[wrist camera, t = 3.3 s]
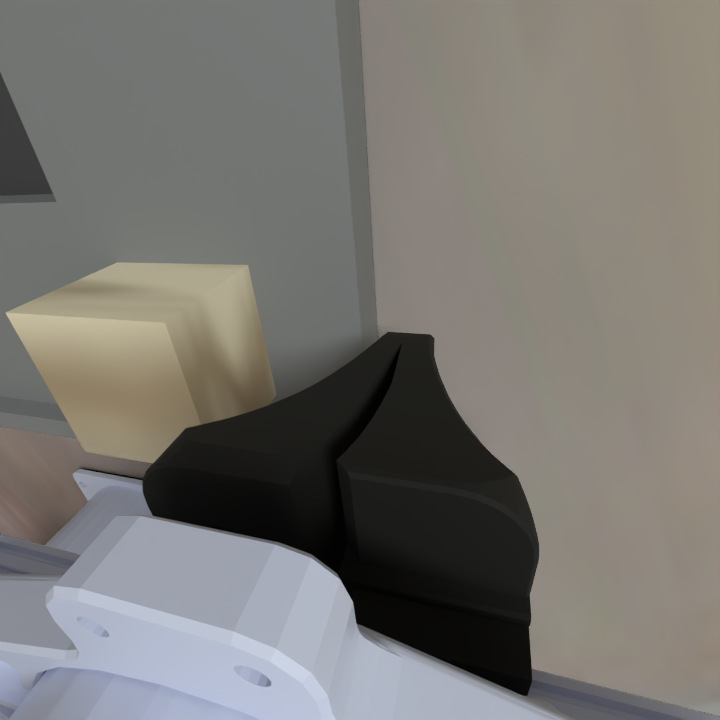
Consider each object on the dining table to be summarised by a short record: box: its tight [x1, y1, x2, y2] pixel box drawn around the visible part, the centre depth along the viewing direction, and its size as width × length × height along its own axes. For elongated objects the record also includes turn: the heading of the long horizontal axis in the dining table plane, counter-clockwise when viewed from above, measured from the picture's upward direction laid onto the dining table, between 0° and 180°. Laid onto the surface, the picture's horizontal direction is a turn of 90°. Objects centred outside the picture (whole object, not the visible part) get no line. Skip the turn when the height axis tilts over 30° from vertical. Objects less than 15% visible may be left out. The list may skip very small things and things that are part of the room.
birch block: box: [5, 262, 277, 463], centre depth 13 cm, size 5×5×4 cm
